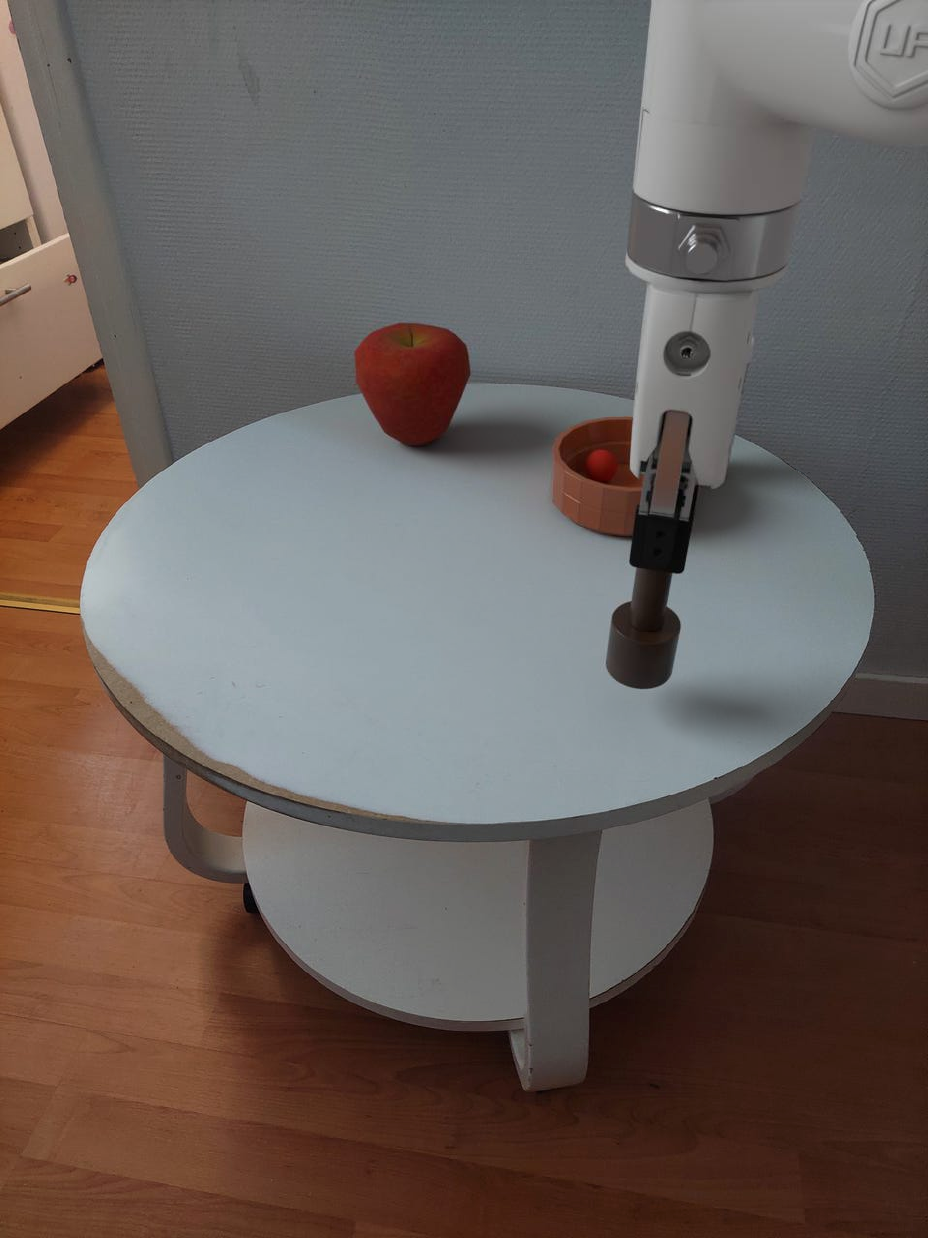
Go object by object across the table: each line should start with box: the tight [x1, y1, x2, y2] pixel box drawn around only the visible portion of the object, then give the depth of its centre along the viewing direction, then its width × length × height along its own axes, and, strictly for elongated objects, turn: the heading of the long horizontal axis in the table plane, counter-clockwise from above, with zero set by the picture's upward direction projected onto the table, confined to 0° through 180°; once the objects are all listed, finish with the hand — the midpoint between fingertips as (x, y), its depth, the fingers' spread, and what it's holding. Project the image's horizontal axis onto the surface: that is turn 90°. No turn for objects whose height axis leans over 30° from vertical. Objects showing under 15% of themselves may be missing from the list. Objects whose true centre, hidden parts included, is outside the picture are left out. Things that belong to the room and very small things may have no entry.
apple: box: [353, 322, 472, 447], centre depth 88 cm, size 11×11×12 cm
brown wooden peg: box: [605, 478, 685, 690], centre depth 55 cm, size 4×4×15 cm
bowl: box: [549, 415, 701, 537], centre depth 81 cm, size 13×13×5 cm
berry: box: [585, 450, 618, 482], centre depth 83 cm, size 3×3×3 cm
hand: (659, 551), depth 54 cm, fingers closed on brown wooden peg, 2 cm apart
